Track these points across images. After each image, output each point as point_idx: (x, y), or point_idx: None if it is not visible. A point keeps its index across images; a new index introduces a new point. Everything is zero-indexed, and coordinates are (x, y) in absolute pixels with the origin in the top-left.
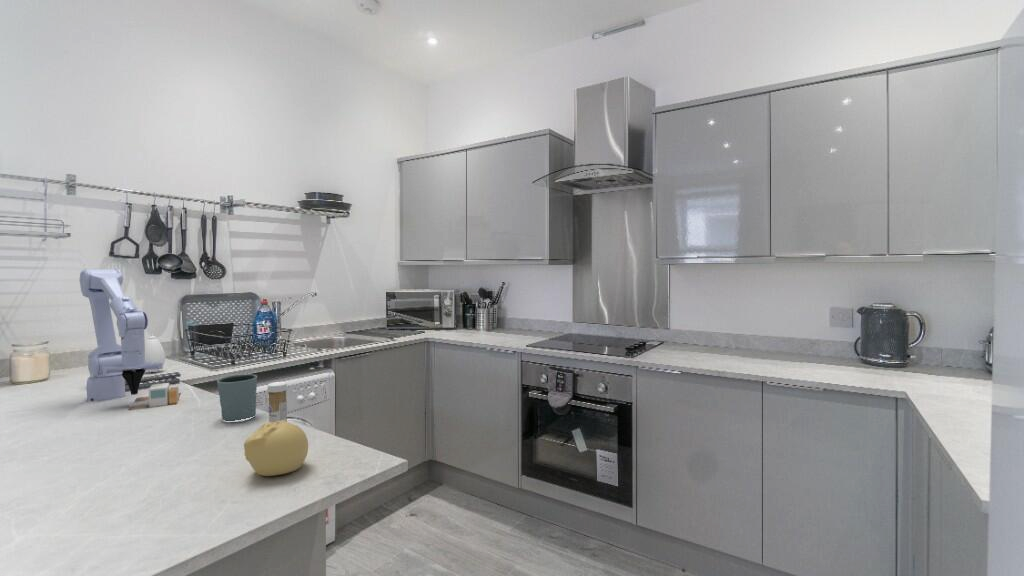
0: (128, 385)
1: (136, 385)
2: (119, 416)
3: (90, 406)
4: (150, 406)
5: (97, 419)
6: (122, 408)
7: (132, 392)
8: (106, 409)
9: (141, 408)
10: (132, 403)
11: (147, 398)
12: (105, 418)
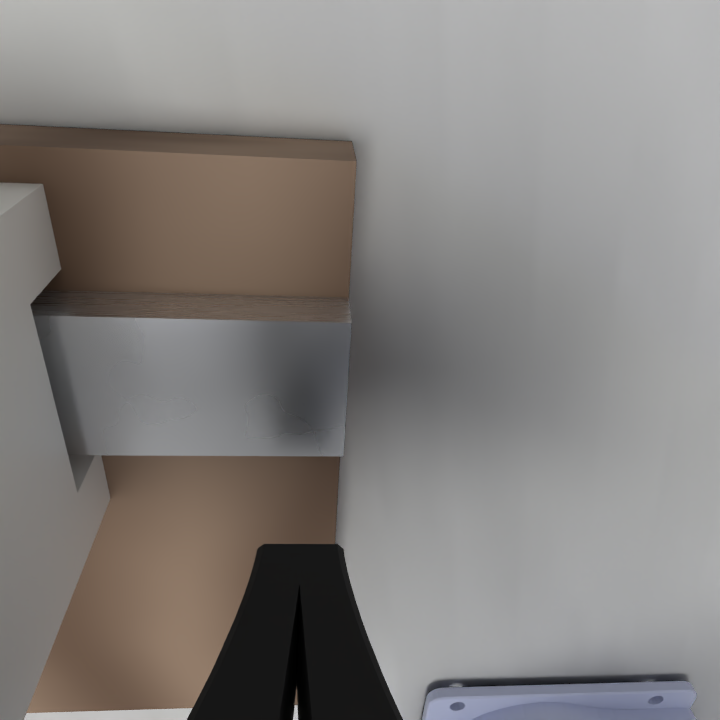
0: (397, 716)
1: (229, 699)
2: (457, 139)
3: (663, 679)
4: (22, 186)
5: (711, 137)
6: (435, 515)
7: (321, 572)
8: (569, 546)
9: (157, 159)
10: (316, 386)
11: (214, 646)
12: (622, 132)
